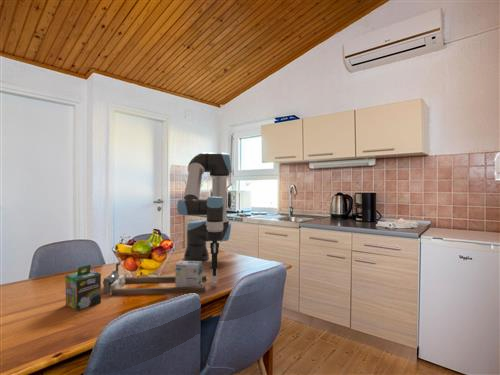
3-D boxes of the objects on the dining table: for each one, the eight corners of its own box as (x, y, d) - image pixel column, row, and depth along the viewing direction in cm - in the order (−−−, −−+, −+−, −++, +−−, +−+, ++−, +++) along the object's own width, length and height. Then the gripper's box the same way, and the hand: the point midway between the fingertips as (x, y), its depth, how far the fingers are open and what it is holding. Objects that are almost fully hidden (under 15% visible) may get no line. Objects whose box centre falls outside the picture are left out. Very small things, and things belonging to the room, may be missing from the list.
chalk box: (89, 297, 116) (89, 260, 116) (101, 302, 111) (101, 264, 110) (64, 305, 108) (64, 266, 108) (76, 311, 103) (76, 270, 103)
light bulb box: (202, 284, 132) (202, 260, 132) (198, 289, 126) (198, 264, 126) (180, 282, 134) (180, 259, 133) (174, 288, 127) (174, 263, 127)
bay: (123, 281, 134) (123, 273, 134) (206, 279, 138) (206, 271, 138) (110, 295, 118) (110, 285, 118) (205, 292, 123) (205, 282, 122)
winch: (115, 280, 136) (115, 262, 136) (123, 280, 136) (123, 262, 136) (101, 293, 120) (101, 272, 120) (110, 292, 120) (110, 272, 120)
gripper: (206, 228, 137) (206, 277, 137) (205, 233, 124) (205, 287, 124) (222, 228, 137) (222, 277, 138) (223, 232, 124) (222, 287, 125)
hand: (214, 282), depth 131 cm, fingers closed
